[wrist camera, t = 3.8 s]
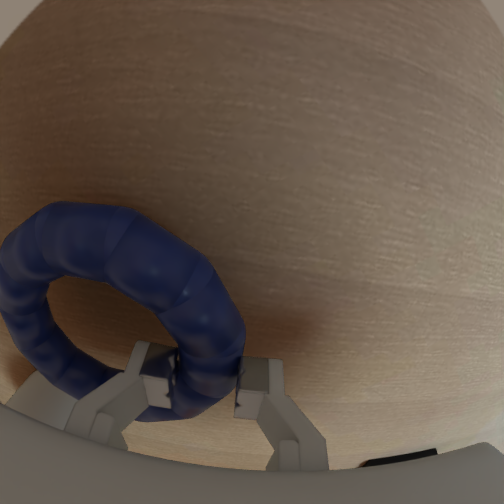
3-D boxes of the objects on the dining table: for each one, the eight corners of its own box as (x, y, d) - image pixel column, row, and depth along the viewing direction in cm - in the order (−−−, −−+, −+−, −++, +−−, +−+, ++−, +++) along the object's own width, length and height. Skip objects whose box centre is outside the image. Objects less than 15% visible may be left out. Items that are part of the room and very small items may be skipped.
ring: (-4, 186, 9) (-42, 211, 7) (263, 210, 10) (264, 247, 8) (50, 365, 15) (34, 396, 13) (232, 405, 15) (229, 443, 13)
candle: (135, 430, 22) (119, 494, 16) (56, 417, 22) (36, 468, 17) (86, 361, 18) (52, 439, 12) (5, 352, 18) (-29, 409, 13)
